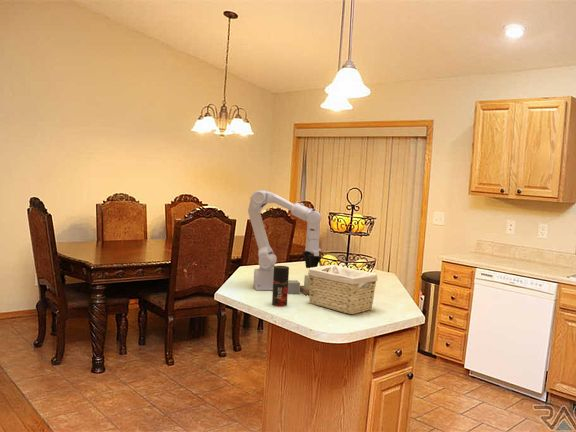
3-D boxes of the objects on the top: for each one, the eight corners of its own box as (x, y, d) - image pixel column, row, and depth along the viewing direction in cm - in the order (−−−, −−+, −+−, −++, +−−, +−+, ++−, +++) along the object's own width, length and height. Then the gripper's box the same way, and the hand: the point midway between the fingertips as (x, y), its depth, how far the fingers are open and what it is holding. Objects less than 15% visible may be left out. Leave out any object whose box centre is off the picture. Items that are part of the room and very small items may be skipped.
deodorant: (274, 306, 189) (276, 268, 188) (270, 302, 195) (272, 265, 194) (288, 306, 191) (290, 268, 190) (284, 302, 197) (286, 265, 195)
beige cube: (307, 289, 211) (308, 277, 210) (304, 286, 215) (304, 275, 215) (318, 289, 212) (319, 277, 212) (314, 286, 217) (315, 275, 216)
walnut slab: (304, 296, 209) (305, 289, 209) (299, 292, 217) (300, 285, 217) (322, 296, 211) (322, 289, 211) (316, 292, 219) (317, 285, 219)
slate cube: (288, 294, 211) (288, 282, 210) (285, 291, 215) (286, 280, 215) (299, 294, 212) (300, 282, 211) (296, 291, 217) (297, 280, 216)
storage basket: (304, 303, 198) (306, 267, 197) (330, 297, 209) (332, 263, 208) (351, 317, 181) (353, 277, 180) (376, 310, 192) (379, 273, 191)
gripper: (326, 241, 207) (324, 273, 208) (316, 236, 221) (315, 266, 222) (310, 241, 205) (308, 272, 206) (301, 236, 219) (299, 266, 220)
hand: (310, 269), depth 214 cm, fingers open, 7 cm apart
